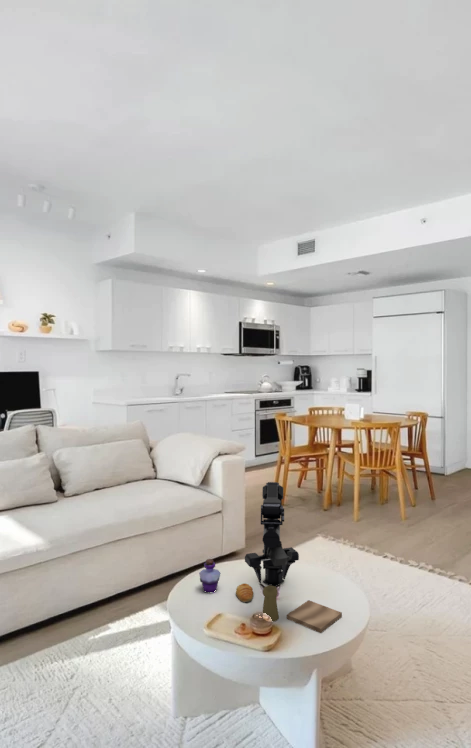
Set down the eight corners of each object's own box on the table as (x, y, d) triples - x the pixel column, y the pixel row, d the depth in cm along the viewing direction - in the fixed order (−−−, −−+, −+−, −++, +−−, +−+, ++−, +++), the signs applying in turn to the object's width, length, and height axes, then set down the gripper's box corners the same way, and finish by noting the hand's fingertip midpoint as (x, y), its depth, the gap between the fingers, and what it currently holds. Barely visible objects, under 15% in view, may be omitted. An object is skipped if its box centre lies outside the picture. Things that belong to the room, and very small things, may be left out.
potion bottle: (200, 584, 204) (200, 555, 203) (221, 585, 203) (221, 555, 203) (197, 594, 195) (197, 564, 195) (220, 595, 195) (219, 564, 194)
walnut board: (286, 618, 177) (286, 614, 177) (308, 604, 187) (308, 600, 187) (320, 633, 168) (320, 628, 168) (341, 616, 178) (341, 612, 178)
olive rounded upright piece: (260, 613, 181) (260, 583, 180) (277, 612, 181) (277, 582, 181) (263, 622, 175) (262, 591, 174) (280, 621, 175) (280, 590, 175)
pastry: (256, 603, 189) (255, 593, 189) (238, 604, 188) (238, 594, 188) (251, 591, 198) (251, 582, 198) (234, 592, 197) (234, 583, 197)
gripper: (255, 548, 166) (256, 595, 167) (306, 541, 173) (306, 586, 173) (244, 537, 177) (244, 581, 177) (291, 531, 183) (291, 573, 184)
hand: (272, 580), depth 178 cm, fingers open, 9 cm apart
